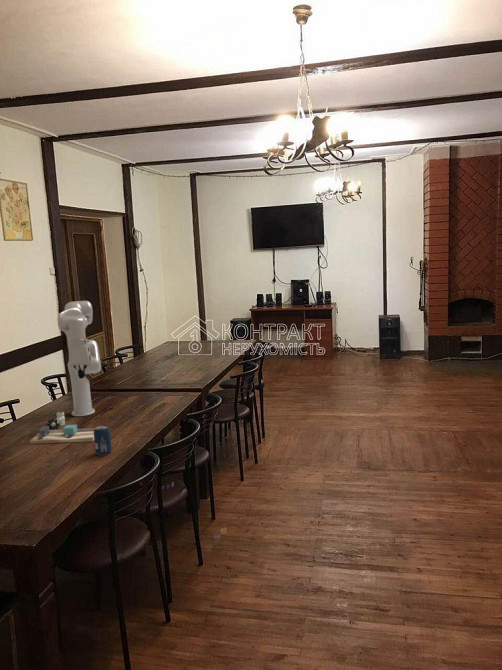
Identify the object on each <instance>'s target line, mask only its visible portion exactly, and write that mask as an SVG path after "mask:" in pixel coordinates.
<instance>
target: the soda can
mask: <svg viewBox="0 0 502 670" xmlns="http://www.w3.org/2000/svg"><path fill="white" fill-rule="evenodd" d="M94 428H95V430H94V440H93V442H94V450H95V453H96V454H97V456H107V455H110V454H111V452H112V441H111V440H112V439H111V429H110V428H109V425H106V424H101V425H97V426H95V427H94Z"/></svg>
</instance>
